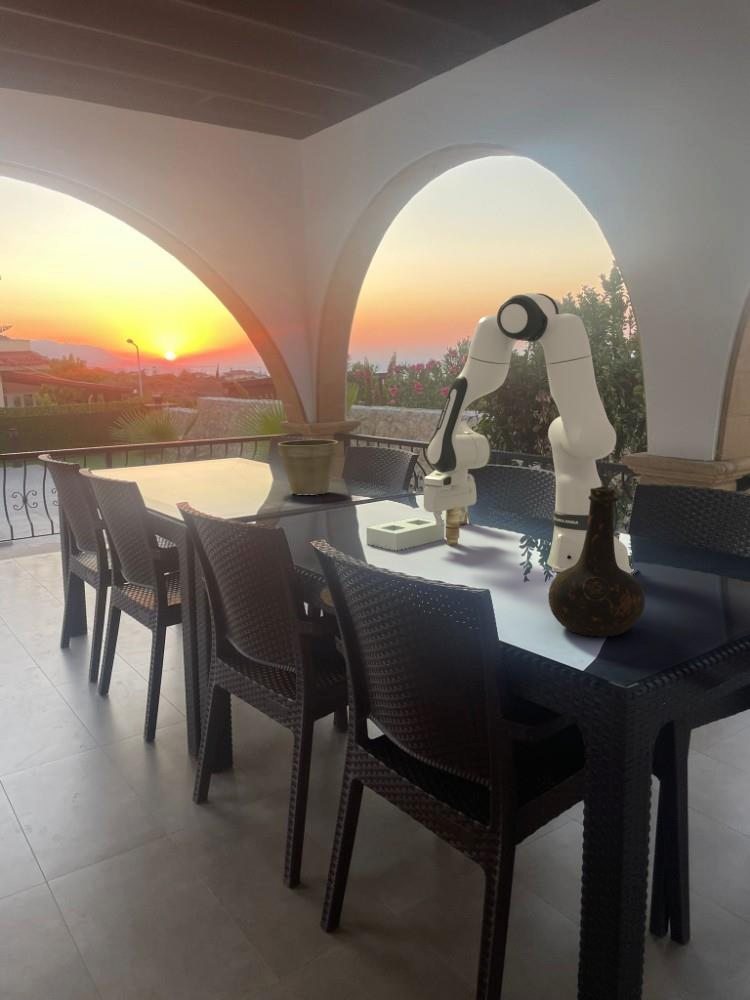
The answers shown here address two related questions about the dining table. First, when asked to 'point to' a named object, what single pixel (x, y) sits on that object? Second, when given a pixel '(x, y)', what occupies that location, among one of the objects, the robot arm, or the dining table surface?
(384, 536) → the board
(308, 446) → the plant pot
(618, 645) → the dining table surface
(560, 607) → the glass bottle
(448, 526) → the peg
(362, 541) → the dining table surface
